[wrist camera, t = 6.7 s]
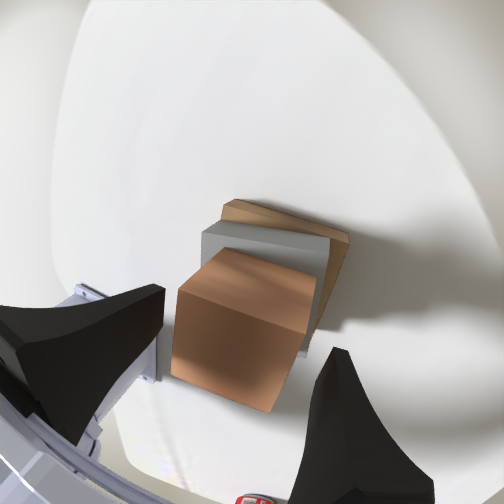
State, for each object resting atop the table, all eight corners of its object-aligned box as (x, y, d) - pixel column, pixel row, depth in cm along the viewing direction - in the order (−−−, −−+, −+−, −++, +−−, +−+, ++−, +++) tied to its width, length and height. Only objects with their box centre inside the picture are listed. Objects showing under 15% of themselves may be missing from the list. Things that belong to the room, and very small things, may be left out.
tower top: (216, 312, 18) (200, 333, 16) (220, 220, 16) (201, 232, 14) (310, 332, 17) (305, 358, 15) (329, 237, 15) (329, 254, 13)
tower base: (217, 292, 21) (204, 309, 19) (237, 197, 18) (223, 204, 16) (312, 324, 20) (308, 345, 17) (347, 230, 17) (349, 243, 15)
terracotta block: (209, 321, 16) (170, 374, 12) (224, 246, 14) (178, 288, 10) (288, 350, 15) (269, 413, 11) (316, 277, 13) (306, 334, 9)
